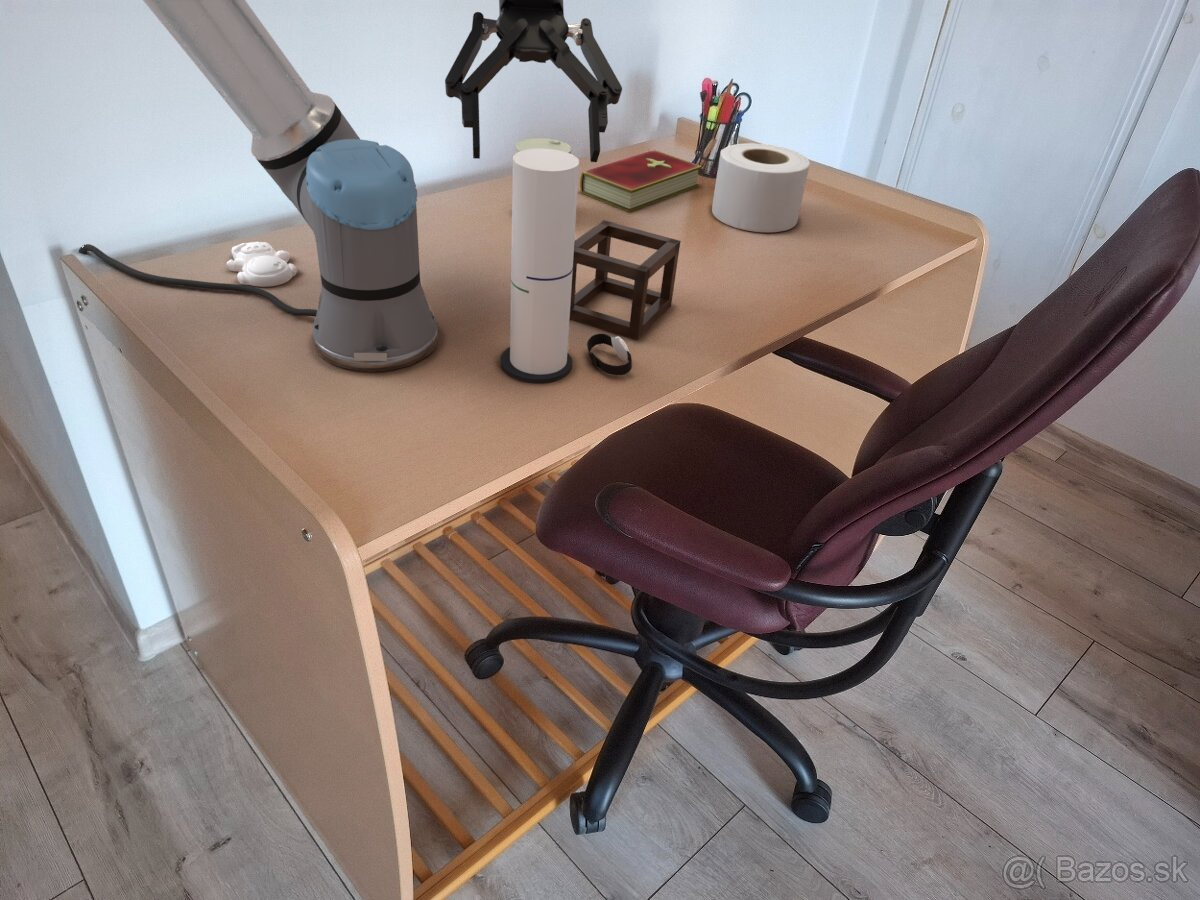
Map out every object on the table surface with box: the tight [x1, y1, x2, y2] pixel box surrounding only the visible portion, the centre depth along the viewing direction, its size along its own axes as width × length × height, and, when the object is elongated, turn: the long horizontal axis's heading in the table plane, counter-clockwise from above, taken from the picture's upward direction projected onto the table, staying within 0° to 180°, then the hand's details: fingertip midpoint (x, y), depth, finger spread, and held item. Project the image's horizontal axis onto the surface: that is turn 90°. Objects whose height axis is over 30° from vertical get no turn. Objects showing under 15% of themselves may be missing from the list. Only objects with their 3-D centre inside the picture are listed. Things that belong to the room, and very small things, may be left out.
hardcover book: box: [579, 149, 703, 213], centre depth 155 cm, size 12×21×4 cm, turn 139°
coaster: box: [499, 346, 573, 384], centre depth 105 cm, size 9×9×1 cm
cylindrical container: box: [509, 149, 580, 375], centre depth 97 cm, size 7×7×25 cm
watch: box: [586, 332, 633, 376], centre depth 105 cm, size 8×5×4 cm, turn 33°
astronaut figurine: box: [226, 241, 298, 288], centre depth 118 cm, size 9×12×3 cm
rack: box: [569, 219, 681, 341], centre depth 115 cm, size 12×12×10 cm
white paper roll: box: [711, 142, 811, 234], centre depth 147 cm, size 16×15×11 cm
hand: (536, 155), depth 95 cm, fingers open, 13 cm apart
